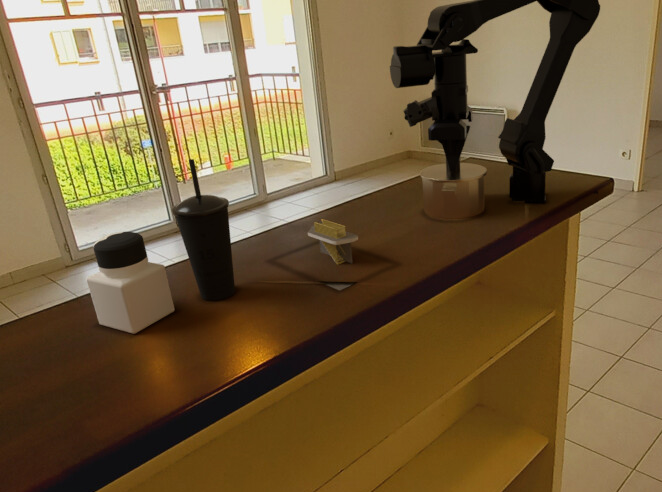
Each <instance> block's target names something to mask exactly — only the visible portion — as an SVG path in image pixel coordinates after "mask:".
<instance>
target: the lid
mask: <svg viewBox="0 0 662 492" xmlns="http://www.w3.org/2000/svg"><path fill="white" fill-rule="evenodd" d="M487 173H488V170H487V168H486V167H485V166H483V165H481V164H477V163H472V162H471V163H470V162H461V157H460V158H459V161H458V164H457V167H456V170H455V171H450V170H449V167H448V163H447V160H446V159H445V162H444V163H438V164H433V165H430V166H427V167H425V168H423V169H421V170H420V172H419V176H420V178H421V179H422V178H423V179H425V180H428V181H432V182H440V183H458V182H467V181H472V180H476V179H479V178H482V177H484V178H485V176H486V175H487Z"/></svg>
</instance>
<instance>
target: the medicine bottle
mask: <svg viewBox="0 0 662 492" xmlns="http://www.w3.org/2000/svg"><path fill="white" fill-rule="evenodd" d="M92 248H93V252H94V256H95V259H96V263H97V267H98V272H96V273H93V274H92V275H89V276H87V277H86V283H87V286H88V290H89V293H90V296H91V300H92V304H93V307H94V310H95V314H96V318H97V321H98V324H99V325H101V326H104V327H107V328H111V329H115V330H118V331H122V332H125V333H130V334H132V335H134V334H137V333H139V332H140V331H143V330H144V329H146V328H147V327H149V326H151V325H153V324H155V323H156V322H158V321H160V320H162V319H164V318H166V317H167V316H169V315H170V314H172V313H174V312H175V310H176V309H175V304H174V299H173V295H172V291H171V287H170V283H169V277H168V274H167V270H166V266H165V265H164V264H160V263H156V262H152V261H151V262H150V261H149V257H148V253H147V249H146V245H145V241H144V236H143V235H142V234H140V233H138V232H133V231H119V232H113V233H110V234H107V235H104V236H102V237H100V238H99V239H97V240H96V241H95V242H94V243H93V246H92Z"/></svg>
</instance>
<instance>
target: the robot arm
mask: <svg viewBox="0 0 662 492" xmlns="http://www.w3.org/2000/svg"><path fill="white" fill-rule="evenodd" d="M535 2H537V3H538V4H539V6H540V7H542V9H544V10H545V11H547V12H548V13H549V14H550V17H549V23H548V25H549V26H548V27H549V39H548V42H547V45H546V47H545V49H544V53H543V56H542V57H541V60H540V62H539V66H538V68H537V70H536V73H535V76H534V78H533V80H532V83H531V86H530V87H529V90H528V93H527V95H526V98H525V100H524V103H523V106H522V108H521V111H520V112H519V113H518V115H517V116H515V118H514V119H512V118H509V117H506V119H505V121H504V124H503V128H502V131H501V132H500V134H499V135H498V136H497V137H498V139H499V144H498V149H499V150H500V151H499V152H500V153H501V155H502V156H503V157H504V158H505V159H506V162H507V165H508V166H510V167H512V173H510V174H509V198H511V202H524V203H526V204H531V203H533V204H537V203H538V204H541V203H546V202H547V198H546V174H547V173H548V172H551V171H552V168H553V166H554V162H555V160H554V159H553V158H552V156H551V155H550V154H548V153H547V151H545V150H544V146H545V142H546V139H547V138H546V120H547V117H548V115H549V112H550V110H551V107H552V105H553V102H554V100H555V98H556V95H557V93H558V90H559V88H560V85H561V83H562V81H563V77H564V75H565V72H566V70H567V68H568V66H569V63H570V61H571V58H572V55H573V53H574V50H575V49H576V47H577V46H578V44H580V42H581V41H582V40H583V39H584V38H585V37H586V36H587V35H588V34H589V32H591V29H592V28H593V27H594V24H595V23H596V21H597V20H598V17H599V15H600V13H601V4H600V2H599V0H468V1H461V2H455V3H449V4H445V5H439V6H436V7H435V8H433V9H432V10H431V11H430V13H429V15H428V17H427V26H426V28H425V30H424V32H423V33H422V35H421V37H420V39H419V40H418V42H417V44H416V45H408V46H406V45H405V46H404V45H395V46H393V47H392V52H393V53H392V55H391V59H390V65H389V73H390V74H389V75H390V79H391V82H392V86H393V87H394V88H395V89H402V88H412V87H417V86H418V87H420V86H421V87H422V86H428V85H429V84H430V82H431V81H433V83H434V86H433V87H434V88H433V90H432V91H431V94H430V95H431V96H430V97H428V98H425V99H422V100H420V101H418V100H416V99H415V100H413V101H412V102H408V103H407V104H406V107H405V108H404V109H403V114H404V120H405V121H407V123H408V126H409V127H410V128H411V127H415V126H417V125H418V124H419V123H421V122H424V121H426V120H428V119H431V120H432V123H431V124H430V126H429V127H428V129H427V135H428V136H427V137H428V141H437V142H438V143H439V144H441V146H442V150H443V152H444V156H445V161H446V160H447V163H448V167H449V170H450V171H455V170H456V167H457V164H458V161H459V158H460V159H461V155H462V154H463V150H464V147H465V144H466V141H467V138H468V135H469V133H470V130H471V125H469V124H467V123H466V122H465V121H466V120H468V123H472V122H473V120H474V119H473V118H474V117H473V116H474V115H473V108H471V106H469V105H468V93H469V85H468V77H467V75H468V74H467V73H468V71H467V55H472V54H477V53H478V52H479V50H478V49H479V48H477V47H475V46H474V45H473V44H472V43H471V41H470V40H469V39H468V37H469V36H471V35H472V34H474V33H475V32H477V31H478V30H479V29H480V28H481V27H483V25H485V24H486V23H488V22H489V21H491V20H494V19H497V18H499V17H501V16H503V15H506V14H508V13H509V14H510V13H511V12H513V11H515V10H518V9H521V8H524V7H526V6H528V5H530V4H532V3H535ZM458 42H459V43H458ZM453 43H458V44H453ZM433 51H435V52H433ZM436 51H437V52H436ZM463 120H465V121H463Z"/></svg>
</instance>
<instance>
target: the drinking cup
mask: <svg viewBox="0 0 662 492" xmlns="http://www.w3.org/2000/svg"><path fill="white" fill-rule="evenodd" d="M188 163H189V168H190V174H191V178H192V183H193V188H194V194H195V195H193V196H190V197H187V198H184V199H183V200H182V201H180V202H179V203H176V204H175V205H174V206H172V208H171V213H172V215H173V216H175V219H176V223H177V226H178V229H179V232H180V235H181V238H182V242H183V244H184V247H185V251H186V254H187V257H188V260H189V263H190V266H191V269H192V272H193V276H194V279H195V282H196V285H197V288H198V291H199V294H200V297H201V299H202V300H203V301H204V300H205V301H207V302H216V301H222V300H226V299H227V298H228V299H229V298H230V297H231V296H233V295H234V294H235V292H236V286H235V275H234V264H233V252H232V251H233V250H232V241H231V229H230V217H229V208H228V207H229V206H230V201H229V200H228V199H227V198H226V197H221V196H218V195H215V194H201V188H200V184H199V177H198V172H197V168H196V163H195V159H194V158H192V159H188Z"/></svg>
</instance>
